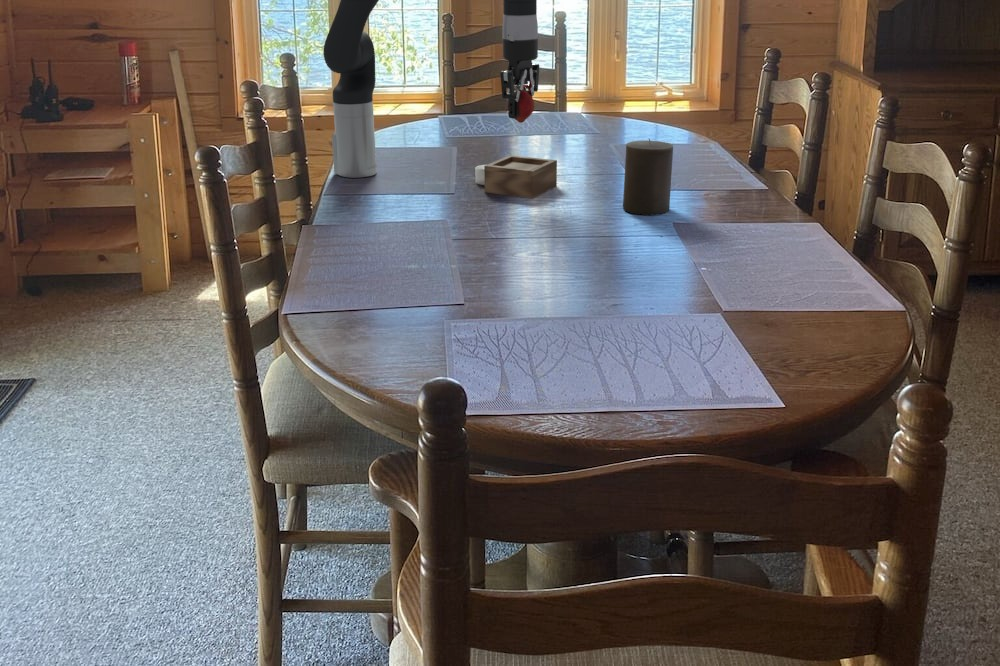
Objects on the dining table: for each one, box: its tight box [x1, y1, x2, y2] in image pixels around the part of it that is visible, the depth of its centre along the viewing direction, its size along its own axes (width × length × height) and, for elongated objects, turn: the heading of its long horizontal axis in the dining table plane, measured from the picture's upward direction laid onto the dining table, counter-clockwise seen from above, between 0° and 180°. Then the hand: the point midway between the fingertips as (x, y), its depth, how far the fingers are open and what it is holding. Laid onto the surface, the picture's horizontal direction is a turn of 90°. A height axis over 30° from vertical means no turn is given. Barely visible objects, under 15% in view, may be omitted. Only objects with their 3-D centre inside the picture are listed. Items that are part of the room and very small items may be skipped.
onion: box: [514, 87, 535, 123], centre depth 231 cm, size 6×6×8 cm
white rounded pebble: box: [474, 164, 486, 186], centre depth 245 cm, size 6×6×4 cm
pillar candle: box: [622, 138, 674, 216], centre depth 219 cm, size 10×10×15 cm
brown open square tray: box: [484, 154, 558, 199], centre depth 237 cm, size 12×12×6 cm
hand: (520, 115), depth 232 cm, fingers closed on onion, 6 cm apart
